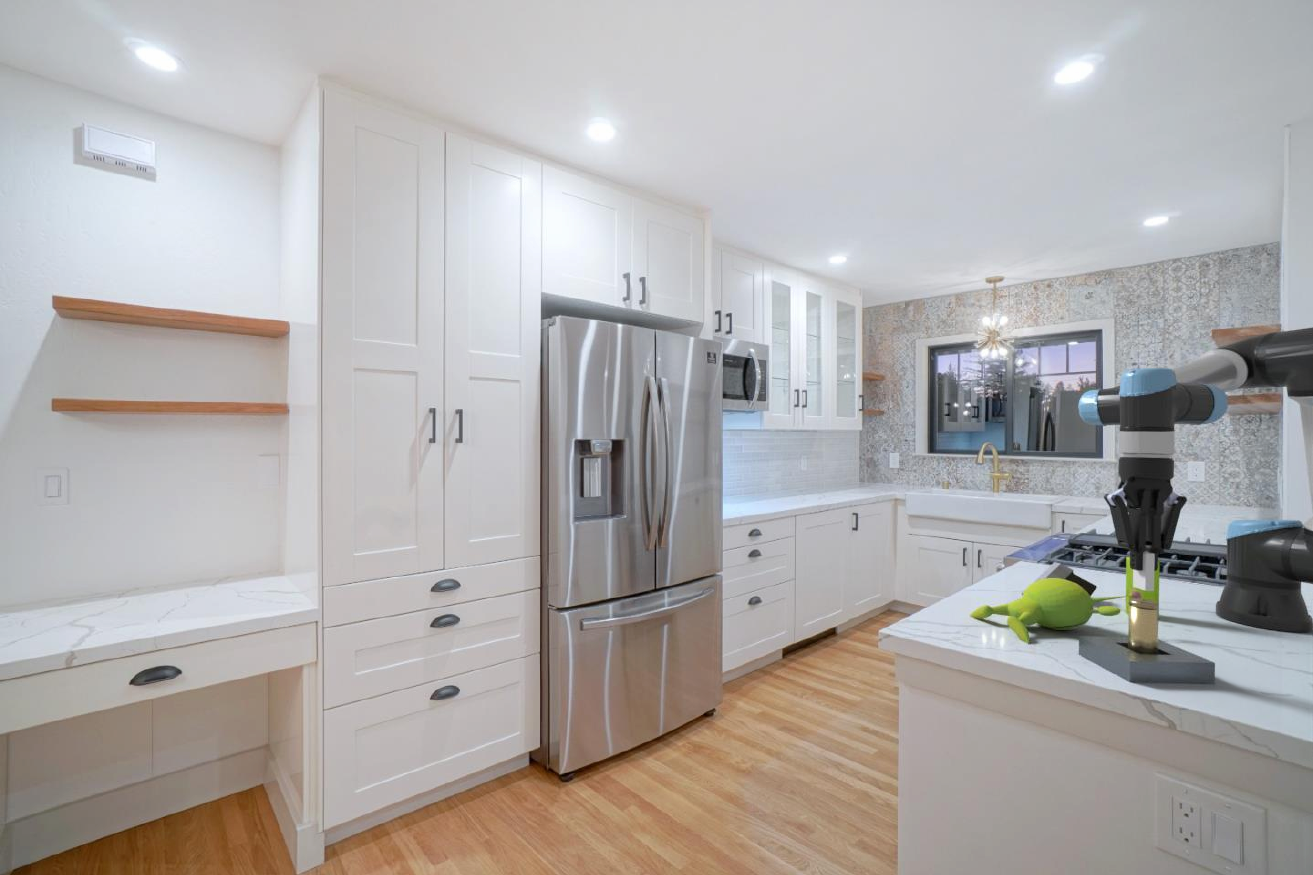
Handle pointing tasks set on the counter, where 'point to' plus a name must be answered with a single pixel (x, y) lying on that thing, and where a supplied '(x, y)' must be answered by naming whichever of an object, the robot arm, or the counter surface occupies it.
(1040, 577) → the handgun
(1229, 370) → the robot arm
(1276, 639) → the counter surface
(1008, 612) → the toy
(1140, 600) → the gold metallic cylinder
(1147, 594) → the soap dispenser
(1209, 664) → the jig
